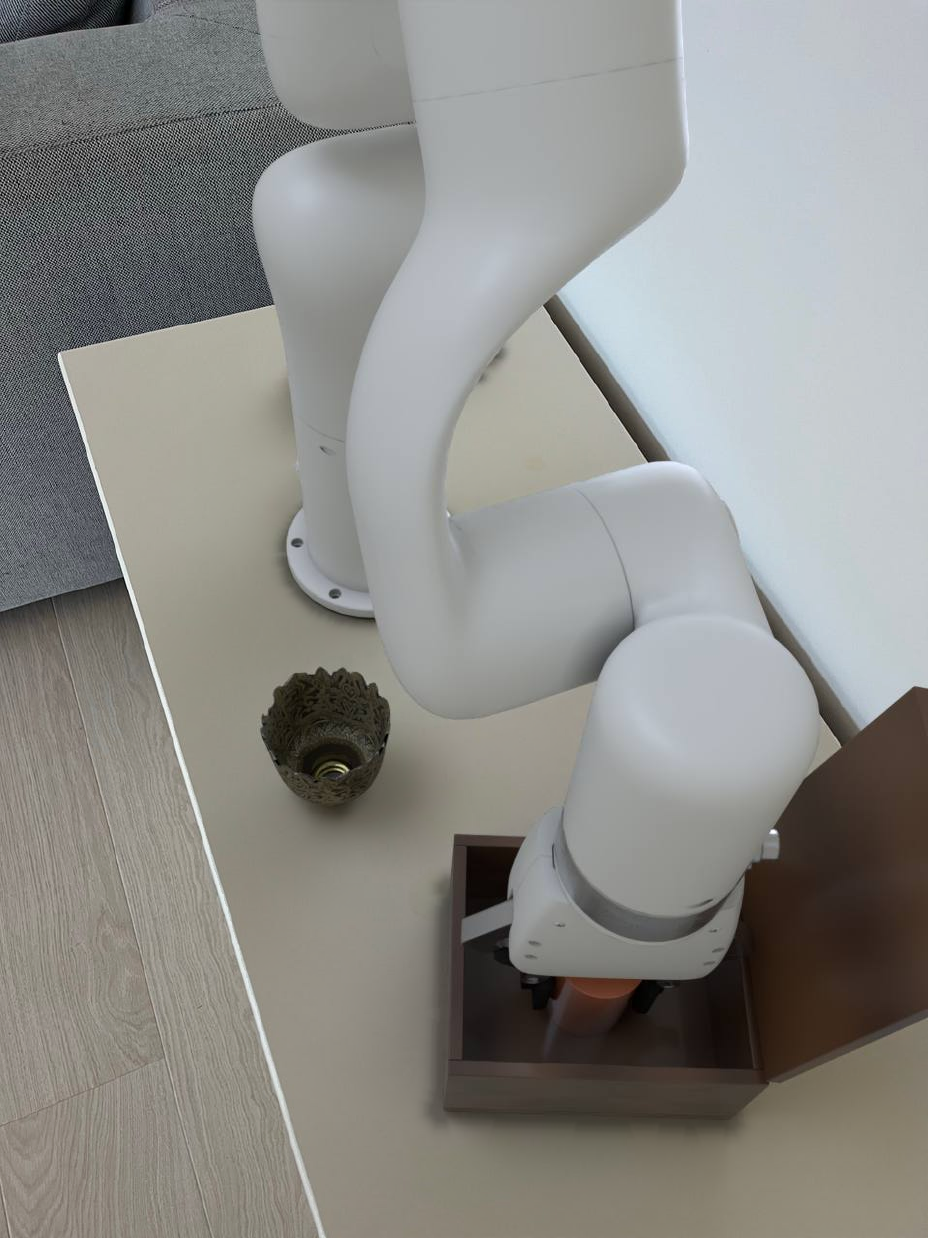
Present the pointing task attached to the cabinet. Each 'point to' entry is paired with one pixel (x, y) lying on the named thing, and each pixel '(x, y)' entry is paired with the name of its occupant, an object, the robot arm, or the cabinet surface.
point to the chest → (587, 1066)
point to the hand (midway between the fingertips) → (588, 983)
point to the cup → (327, 734)
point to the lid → (846, 900)
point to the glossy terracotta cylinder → (589, 1003)
